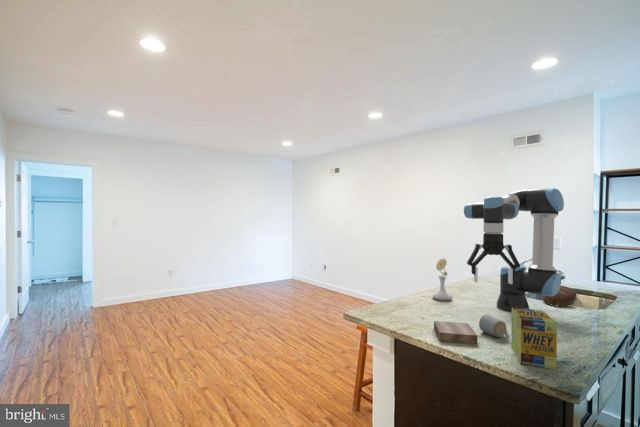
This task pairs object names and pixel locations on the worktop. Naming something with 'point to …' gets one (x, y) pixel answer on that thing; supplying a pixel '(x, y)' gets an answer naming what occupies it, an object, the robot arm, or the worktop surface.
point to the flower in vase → (442, 283)
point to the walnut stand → (455, 332)
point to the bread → (561, 297)
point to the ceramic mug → (492, 326)
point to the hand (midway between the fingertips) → (492, 282)
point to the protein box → (534, 337)
